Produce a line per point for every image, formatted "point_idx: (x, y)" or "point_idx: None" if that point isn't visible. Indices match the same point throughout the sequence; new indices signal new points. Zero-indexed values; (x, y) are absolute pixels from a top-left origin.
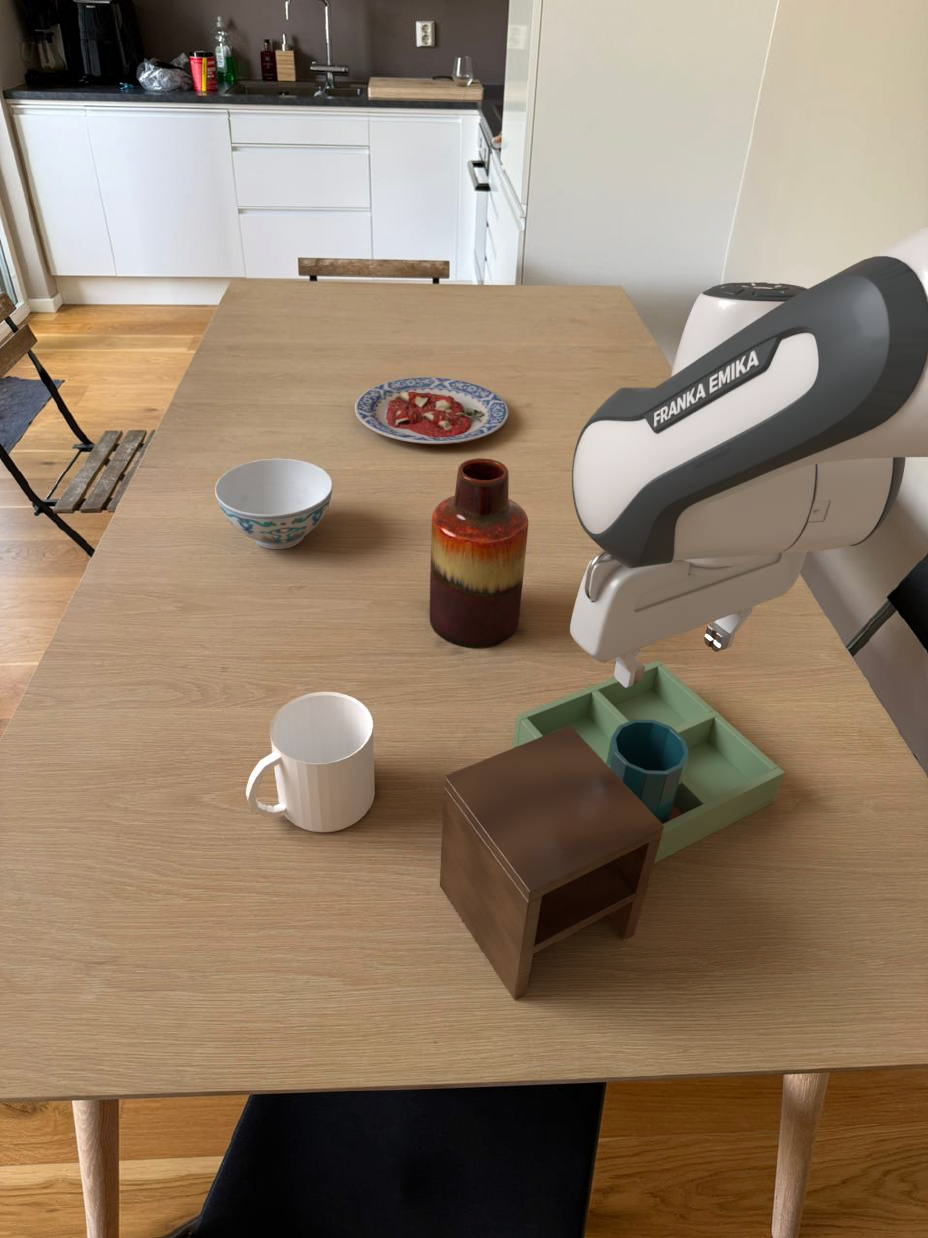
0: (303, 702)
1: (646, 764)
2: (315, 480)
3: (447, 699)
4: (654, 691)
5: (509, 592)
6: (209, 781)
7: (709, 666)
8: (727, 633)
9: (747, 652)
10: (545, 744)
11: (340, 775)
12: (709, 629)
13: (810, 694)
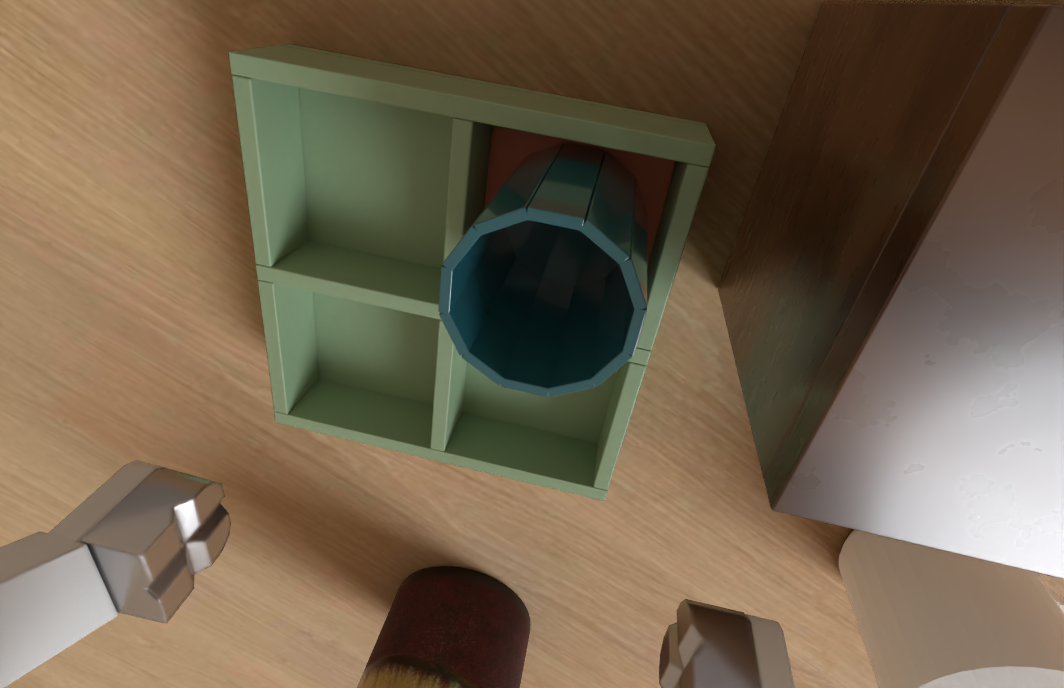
0: None
1: (498, 279)
2: None
3: (615, 554)
4: (317, 374)
5: (423, 662)
6: None
7: (183, 347)
8: (96, 552)
9: (96, 324)
10: (904, 516)
11: (1049, 631)
12: (170, 602)
13: (36, 184)
